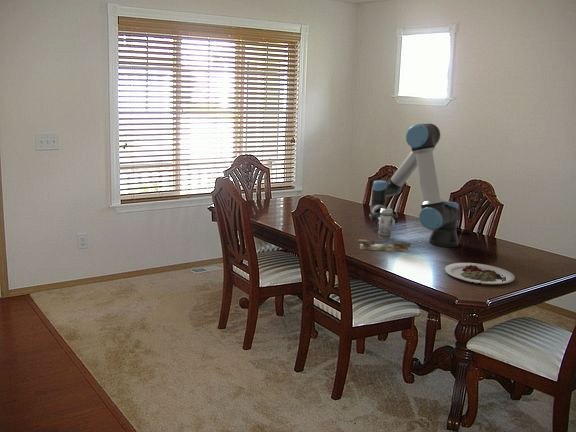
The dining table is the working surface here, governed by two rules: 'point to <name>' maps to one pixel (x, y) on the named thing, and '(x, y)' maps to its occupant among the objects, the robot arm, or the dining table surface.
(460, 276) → the plated food
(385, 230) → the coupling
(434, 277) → the dining table surface
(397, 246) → the shaft bench
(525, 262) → the dining table surface
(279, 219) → the dining table surface
